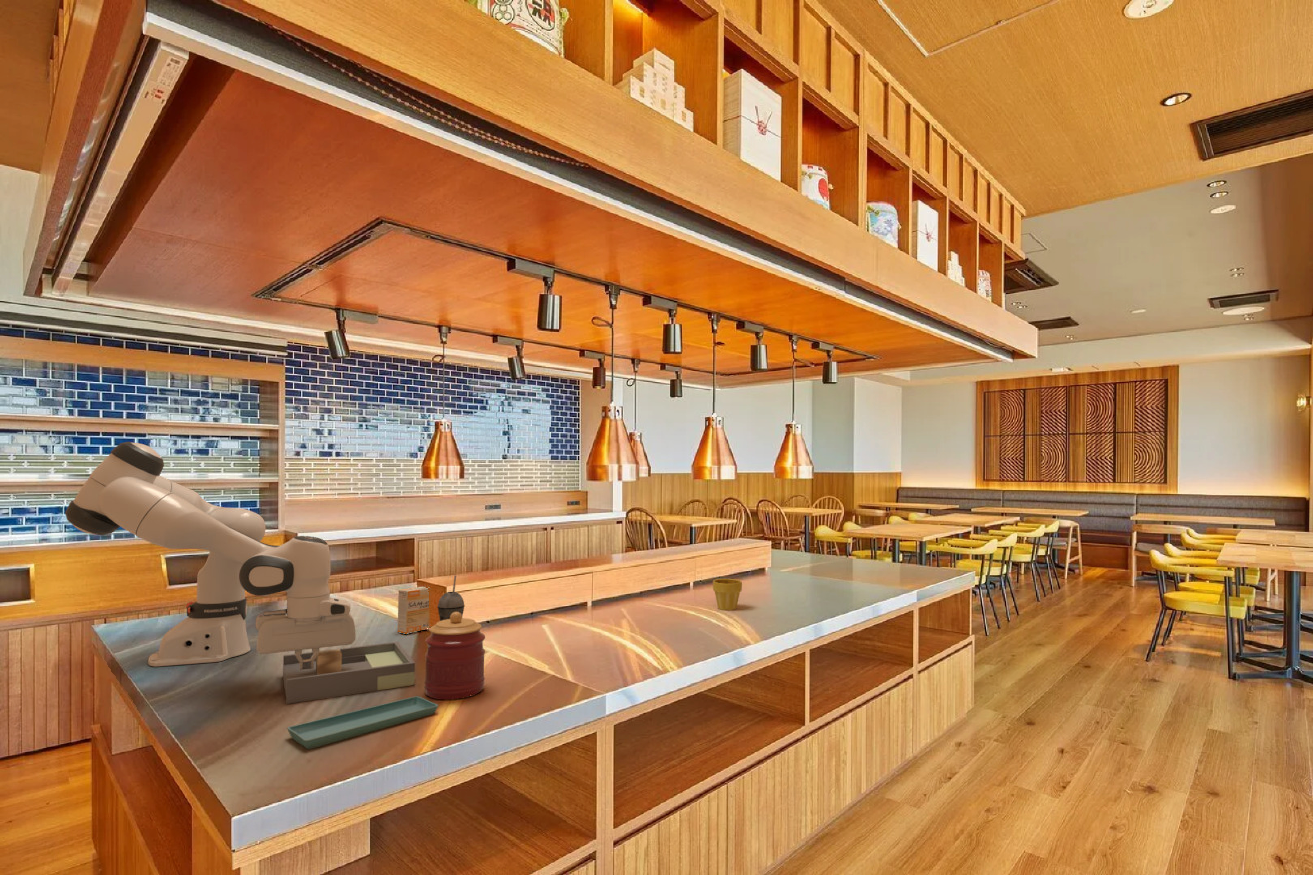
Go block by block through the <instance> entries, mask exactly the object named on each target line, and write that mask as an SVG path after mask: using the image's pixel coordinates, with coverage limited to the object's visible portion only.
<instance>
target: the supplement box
mask: <svg viewBox="0 0 1313 875" xmlns="http://www.w3.org/2000/svg"><path fill="white" fill-rule="evenodd" d="M428 588H429V587H428ZM428 588H426V586H418V587H411V588H404V589H398V602H397V633H398V632H401V633H405V634H407V633H410V632H414V631H420V630H425V629H427V628H429V629H430V611H429V592H428V591H429V590H428ZM428 621H429V623H428Z"/></svg>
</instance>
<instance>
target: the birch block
mask: <svg viewBox="0 0 1313 875" xmlns="http://www.w3.org/2000/svg"><path fill="white" fill-rule="evenodd" d="M335 649H336V650H333V649H326V650H327V651H324V650H319V654H318V656H317V657H316V672H317V675H320V674H327V673H335V672H341V665H342V654H341V651H340V649H341V648H335Z"/></svg>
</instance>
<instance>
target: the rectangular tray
mask: <svg viewBox="0 0 1313 875" xmlns="http://www.w3.org/2000/svg"><path fill="white" fill-rule="evenodd" d="M438 707H439V704H437V703H435V702H432V701H430V700H428V699H425V698H423V697H421V696H420V695H419V696H412V697H408V698H402V699H399V700H398V699H397V700H396V701H395V700H394V701H391V702H387V703H383V704H379V705H378V704H377V705H375V706H371V707H366V708H362V709H358V710H353V711H350V712H349V711H348V712H345V713H341V714H338V715H333V716H329V717H324V718H321V719H316V720H313V721H307V722H304V723H300V724H296V725H292V726H288V727H287V728H286V729H287V731H288V733H289V735H290V736H291V738H292V739H293V740H294V741H295V742H297V743H299V744H300V745H302V746H303V747H304V748H306V749H307V750H310V749H314V748H318V747H322V746H325V745H328V744H332V743H337V742H340V741H344V740H346V739H350V738H353V737H358V736H361V735H363V734H364V735H365V734H367V733H370V732H375V731H378V730H383V729H386V728H389V727H393V726H397V725H400V724H403V723H406V722H410V721H413V720H417V719H420V718H423V717H428V716H432V715H434V714H435V713H436V711H437V710H438Z"/></svg>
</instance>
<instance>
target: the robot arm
mask: <svg viewBox="0 0 1313 875" xmlns="http://www.w3.org/2000/svg"><path fill="white" fill-rule="evenodd" d="M164 466H165V462H164V458H163V457H161V456H160V454H159V453H158V452H157V451H156V450H155V449H153V448H152V447H150V446H148V445H146V444H143V443H139V442H131V441H125V442H121V443H119V444H118V445H117V446H115V447H114V448H113V449H112V450H111V451H110V454H109V455H108V456H107V457H106V458H104V460H102V461H101V462H100V463H99V465H98V466H97V467H96V468H95V469H94V470H93V471H92V472H91V473H90V474H89V477H88V478H87V480H86V481H85V482H84V484H83V485H82V487H81V488H80V490H79V491H78V492H77V494H76V496H75V497H74V498H73V500H71V501H70V502H69V504H68V506H67V508H66V510H65V512H64V514H65V517H66V520H67V521H68V522H69V523H70V524H71V525H72V526H73V527H74V528H76V529H77V530H79V531H81V532H83V533H85V534H90V535H96V536H106V535H111V534H112V533H115V531H116V530H118V529H119V528H121V529H123V530H125V531H127V532H129V533H130V534H133V535H134V536H136V537H138V538H140V539H142V540H144V541H145V542H148V543H150V544H153V545H156V546H159V547H162V548H165V549H170V550H185V549H186V550H205V551H209V553H208V556H207V559H206V562H205V564H204V565H203V567H201V568H200V570H198V573H197V575H196V576H197V578H196V579H197V580H196V601H189V602H187V604H186V605H185V608H186V618H185V619H183V620H182V621H180V622H178V624H176V625H175V626H174V627H172V628H171V629H169V630H168V631H166V633H165V634H164V635H163V636H162V639H161V640H160V643H159V648H158V651H155V652H154V653H152V654H150V656H149V657H148V661H147V664H148V666H151V667H165V666H167V667H168V666H179V665H191V664H193V665H194V664H204V663H205V664H206V663H217V662H222V661H225V660H227V659H230V658H234V657H237V656H241V655H244V654H247V653H248V652H250V651H251V646H250V642H249V638H248V634H247V633H248V632H247V627H246V625H247V624H246V619H247V615H248V602H247V600H248V599H247V598H246V592H247V593H248V594H251V595H253V596H256V597H257V596H259V597H260V596H261V597H265V596H271V595H273V594H279V593H281V592H284V593H286V608H285V609H284V608H283V609H275V610H265V611H263V612H262V613H260V614H258V616H257V617H256V618H255V630H256V631H257V632H258V634H257V638H256V640H257V641H256V652H258V654H259V655H269V654H275V653H277V654H278V653H285V652H293V651H294V654H295V656H296V658H297V659H298V661H299V662H300V670H302V669H311V668H313V667H314V660H315V659H316V657H317V656H318V654H319V651H320V649H321V648H330V647H339V646H348V645H353V644H354V643H355V641H356V639H357V638H356V636H357V635H356V634H357V633H356V625H355V619H354V617H353V615H352V614H351V613H350V612H351V604H350V603H349V602H348V601H347V600H345V599H340V598H336V597H335V598H334V597H331V590H330V585H329V580H330V577H331V572H332V571H331V570H332V569H331V562H332V561H331V552H330V547H329V544H328V542H326V540H324V539H323V538H320V537H315V536H309V535H298V536H294V537H292V538H291V539H290V540H288V541H286V542H285V543H283V544H281V545H273V544H268V543H265V542H262V540H263V539H264V537H265V534H266V521H265V520H264V518H263V517H262V516H261V515H260V514H258V513H257V512H255V511H252V510H249V509H246V508H241V507H240V508H238V507H225V506H224V507H223V506H219V505H215V504H213V503H211V502H208V501H206V500H205V499H203V498H202V497H201V496H200V494H199V493H198V492H197V491H195V490H193V489H191V488H188V487H186V486H184V485H181V484H179V483H177V482H175V481H172V480H171V479H169V478H166V477H163V476H162V475H161V474H162V472H163V470H164ZM305 650H311V652H313V655H312V657H311V658H310V659H308V660H303V659H302V658H301V656H300V655H301V654H302V653H303V651H305Z"/></svg>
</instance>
